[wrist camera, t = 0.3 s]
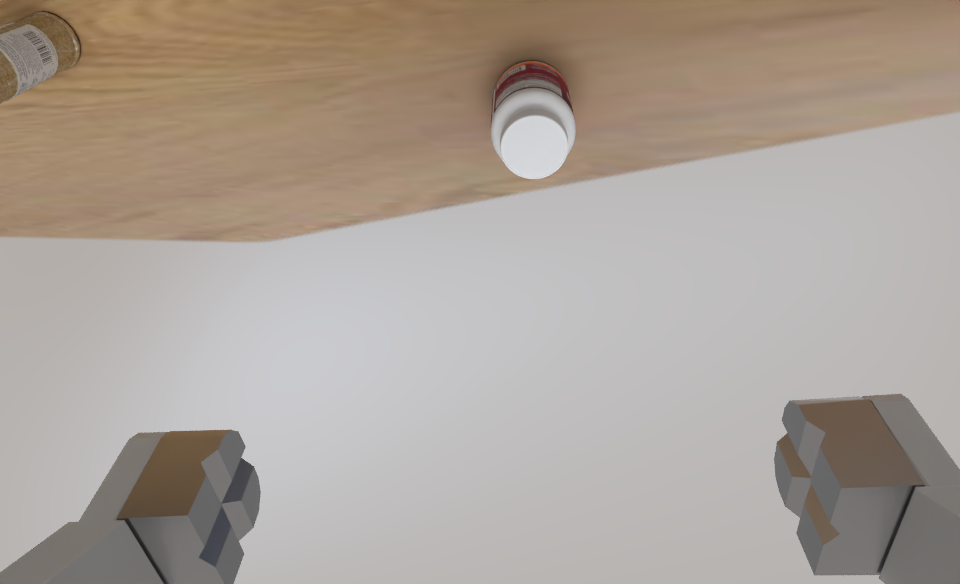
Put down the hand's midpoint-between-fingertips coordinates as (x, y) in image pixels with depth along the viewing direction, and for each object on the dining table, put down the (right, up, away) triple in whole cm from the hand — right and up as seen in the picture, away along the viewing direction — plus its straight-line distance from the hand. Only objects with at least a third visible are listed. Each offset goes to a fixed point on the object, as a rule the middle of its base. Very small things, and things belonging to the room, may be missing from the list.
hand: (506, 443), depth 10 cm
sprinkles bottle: (-35, +23, +44) cm, 61 cm away
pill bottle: (+4, +18, +45) cm, 49 cm away
